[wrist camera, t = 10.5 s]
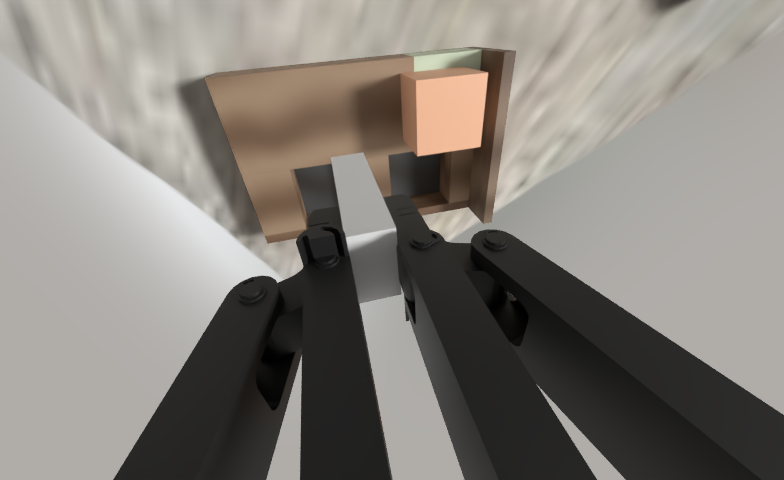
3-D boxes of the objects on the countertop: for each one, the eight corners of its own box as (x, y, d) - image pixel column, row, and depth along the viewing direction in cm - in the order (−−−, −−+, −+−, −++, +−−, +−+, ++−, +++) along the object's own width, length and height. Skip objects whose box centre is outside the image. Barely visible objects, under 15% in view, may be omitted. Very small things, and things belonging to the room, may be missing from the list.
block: (400, 73, 27) (416, 80, 23) (462, 66, 28) (488, 72, 24) (403, 139, 31) (417, 156, 27) (458, 132, 32) (480, 146, 28)
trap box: (216, 72, 27) (188, 85, 21) (473, 46, 31) (516, 50, 25) (271, 225, 37) (263, 265, 31) (462, 191, 41) (491, 222, 34)
